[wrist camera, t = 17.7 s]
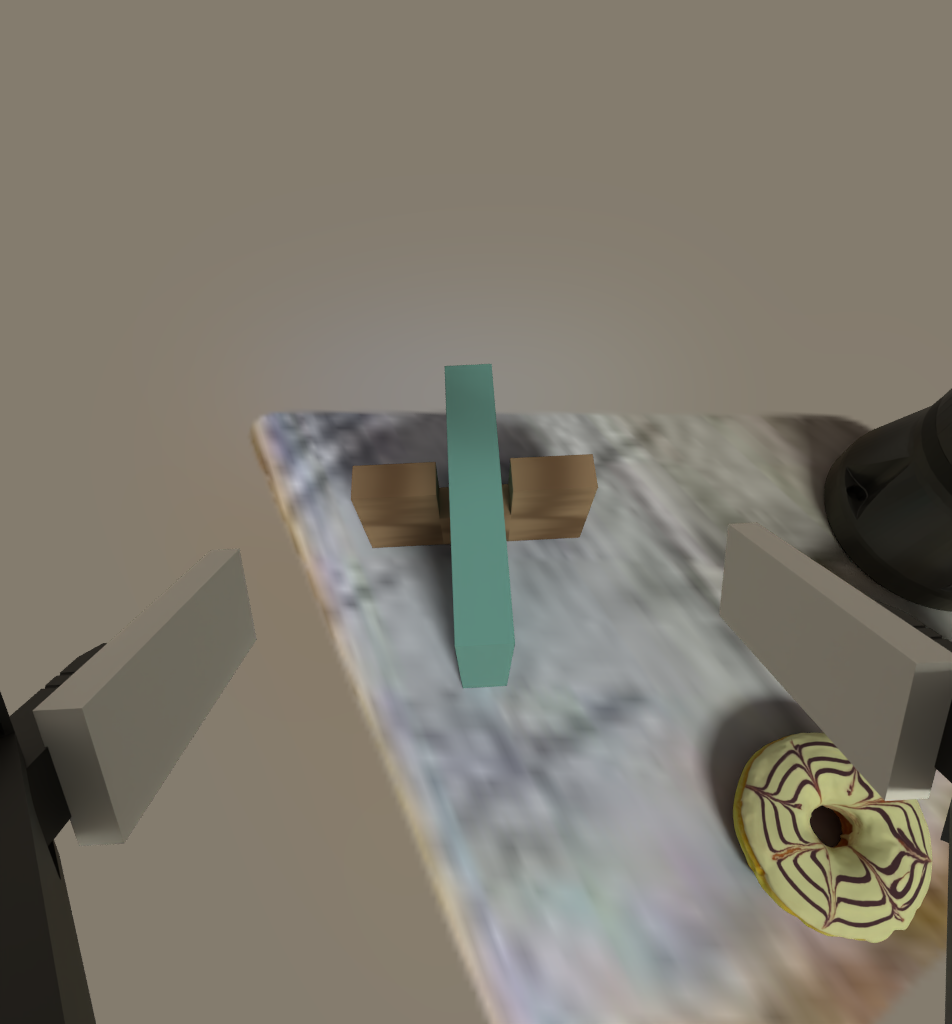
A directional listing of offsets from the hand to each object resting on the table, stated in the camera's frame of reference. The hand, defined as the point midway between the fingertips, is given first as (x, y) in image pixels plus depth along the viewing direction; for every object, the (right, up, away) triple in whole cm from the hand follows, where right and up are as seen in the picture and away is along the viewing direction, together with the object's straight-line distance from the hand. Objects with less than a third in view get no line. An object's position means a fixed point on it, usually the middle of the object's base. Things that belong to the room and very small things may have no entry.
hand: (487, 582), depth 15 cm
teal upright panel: (0, -2, +28) cm, 28 cm away
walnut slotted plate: (0, +1, +29) cm, 29 cm away
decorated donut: (+21, -18, +20) cm, 34 cm away
